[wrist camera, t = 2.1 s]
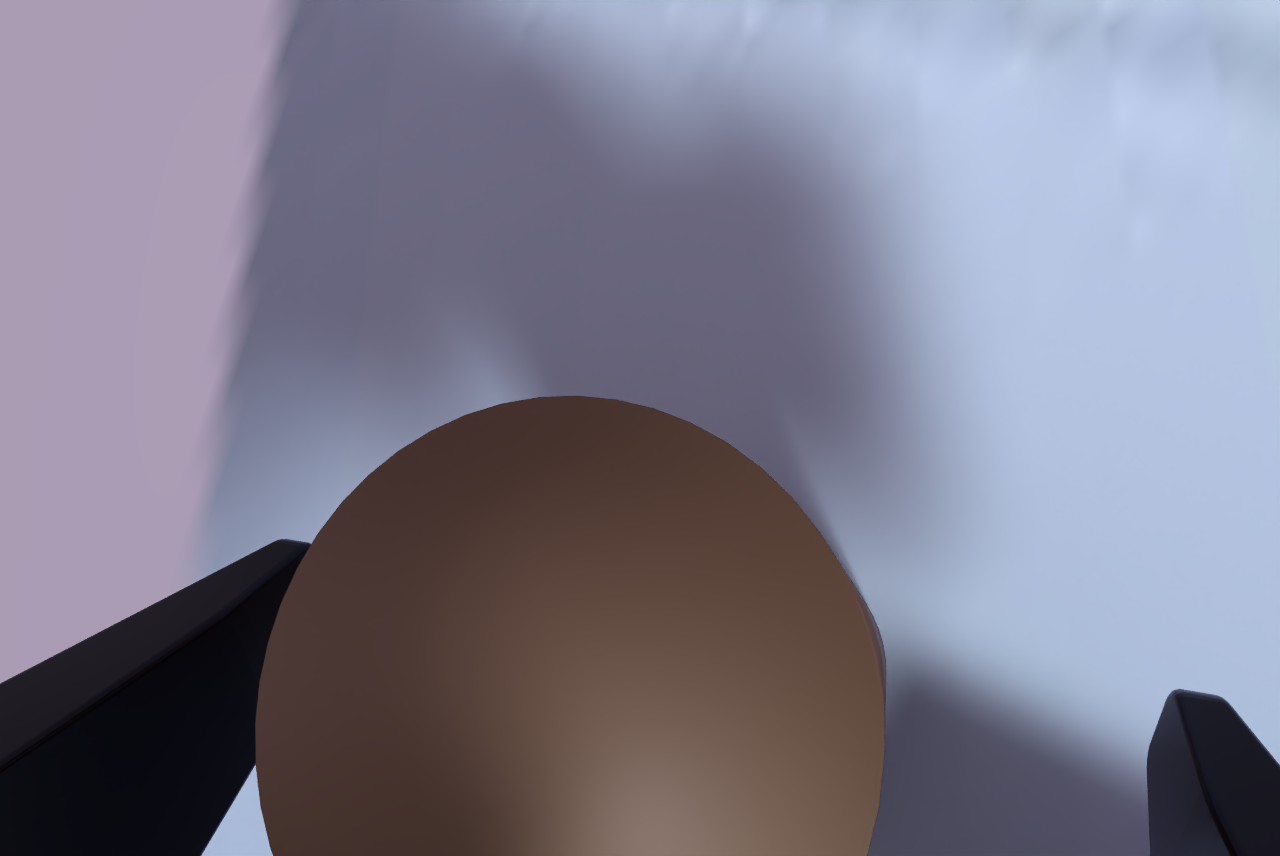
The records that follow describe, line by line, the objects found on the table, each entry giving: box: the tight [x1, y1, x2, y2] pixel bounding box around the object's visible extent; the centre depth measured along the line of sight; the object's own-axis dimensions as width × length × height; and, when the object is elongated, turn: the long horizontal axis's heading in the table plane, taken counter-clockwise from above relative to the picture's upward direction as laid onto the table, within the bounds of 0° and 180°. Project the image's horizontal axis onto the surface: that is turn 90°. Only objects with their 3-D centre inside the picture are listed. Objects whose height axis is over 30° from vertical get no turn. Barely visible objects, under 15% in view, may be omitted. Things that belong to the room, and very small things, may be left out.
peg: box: [255, 396, 886, 856], centre depth 12 cm, size 4×4×12 cm
